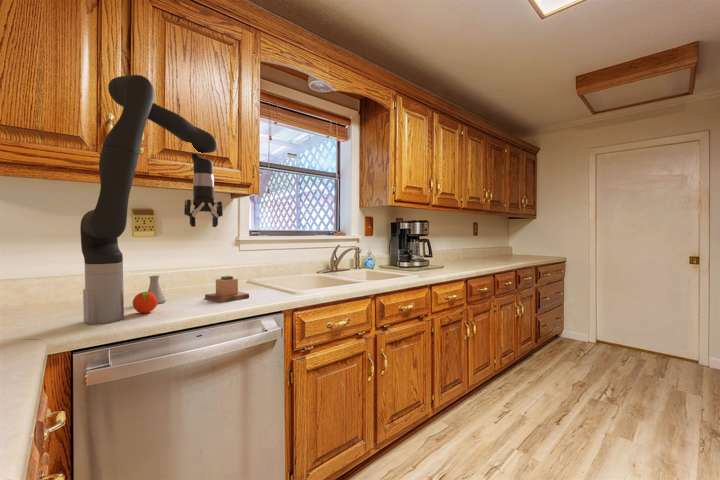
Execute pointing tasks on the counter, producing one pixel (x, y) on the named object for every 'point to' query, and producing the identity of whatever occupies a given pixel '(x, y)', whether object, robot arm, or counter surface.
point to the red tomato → (145, 302)
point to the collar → (226, 287)
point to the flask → (156, 289)
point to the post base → (226, 298)
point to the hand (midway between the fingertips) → (204, 226)
